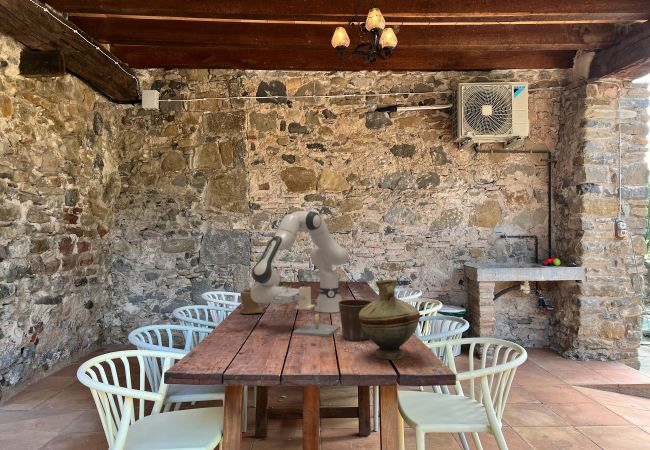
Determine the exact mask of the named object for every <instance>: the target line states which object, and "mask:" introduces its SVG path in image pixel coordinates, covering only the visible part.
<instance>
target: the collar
mask: <svg viewBox="0 0 650 450" xmlns="http://www.w3.org/2000/svg"><path fill="white" fill-rule="evenodd" d="M298 289H299V296H305V299H304V300H298V305H296V306H294V309H295V310H308V311H309V310H312V309H314V308H315V306H316V304H312V290H311V289H312V286H301V287H298Z"/></svg>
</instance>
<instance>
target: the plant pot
mask: <svg viewBox="0 0 650 450" xmlns="http://www.w3.org/2000/svg"><path fill="white" fill-rule="evenodd" d="M371 302H373V301H372V300H368V299H367V300H366V299H343V300H342V301H340V302H338V304H339V310H340V311H339V313H340V321H341V322H340V323H341V331H342V338H343V339H344V340H348V341H351V342H354V341H355V342H356V341H357V342H359V341H362V340H363V341H365V340H368V339H370V338H369V337H368V336H367V334H366V333H365V332H364V330H363V328H362V326H361V323H360V320H359V312H360V311H361V310H362V309H363V308H364V307H365V306H367V305H368V304H370V303H371Z"/></svg>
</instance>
